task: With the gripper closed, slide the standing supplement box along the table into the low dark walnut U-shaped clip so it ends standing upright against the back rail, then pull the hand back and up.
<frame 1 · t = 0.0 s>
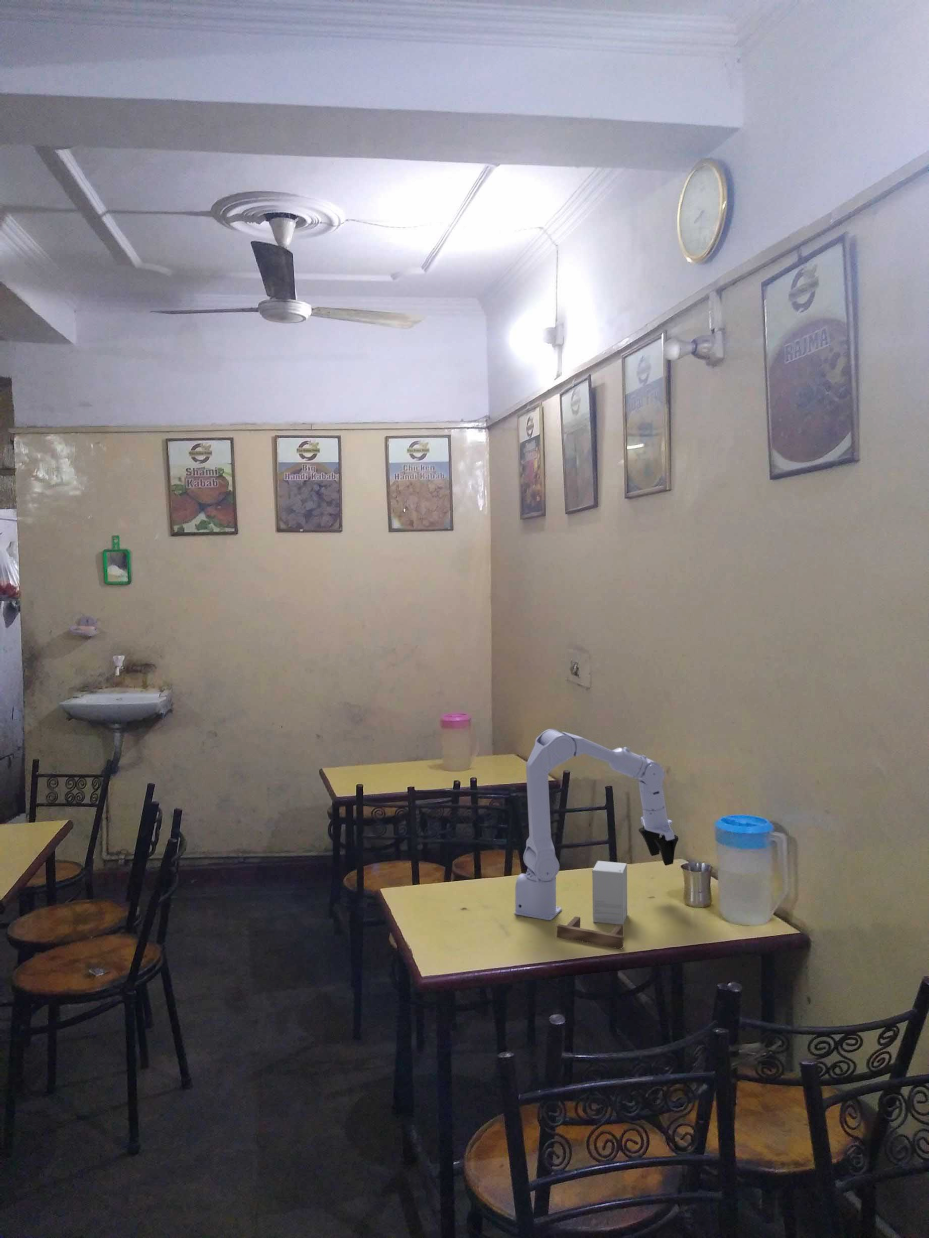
hand: (661, 859, 223), 11 cm above the table, tool pointing down, fingers open, 7 cm apart
supplement box: (610, 919, 213), on the table
walnut clip: (596, 933, 204), on the table
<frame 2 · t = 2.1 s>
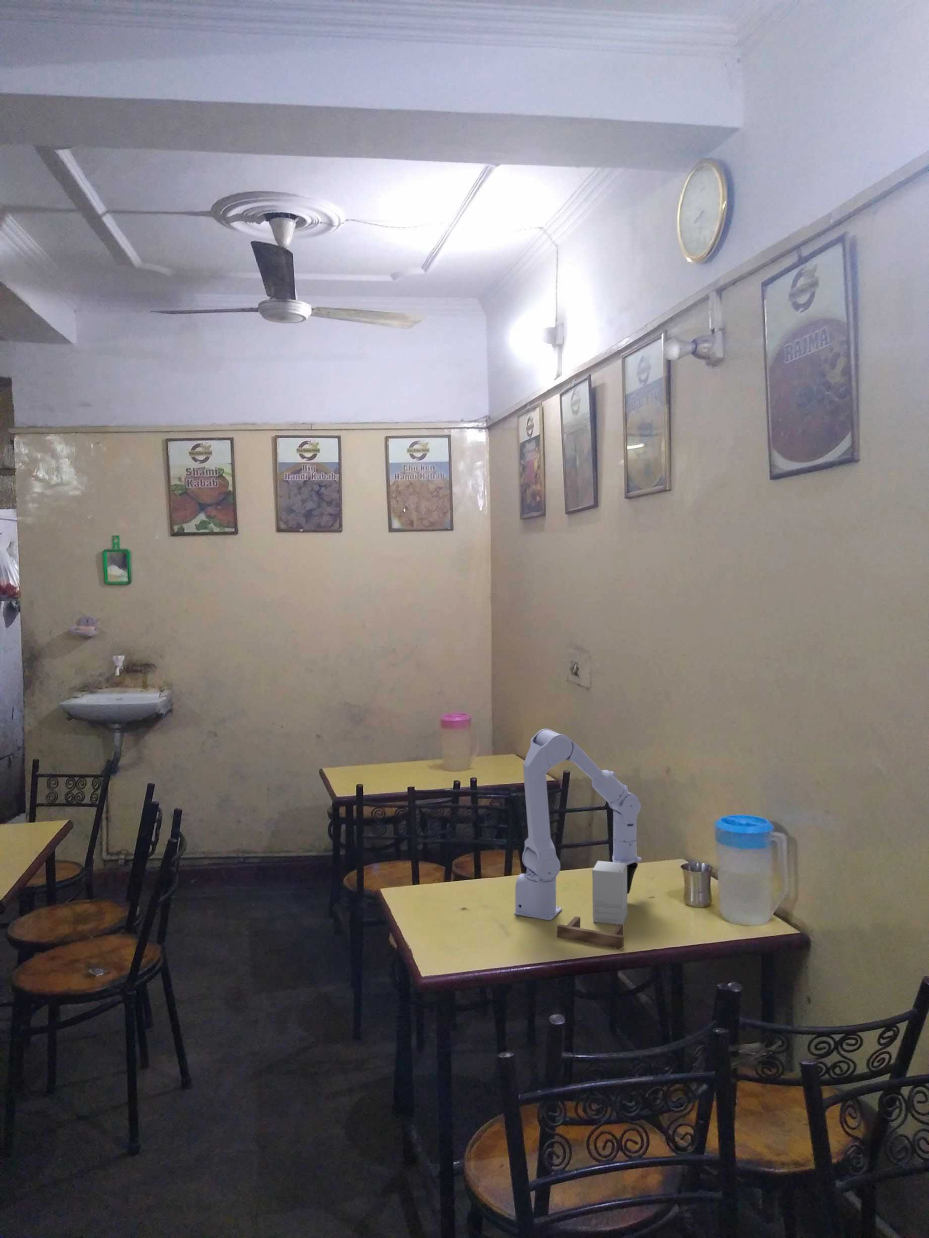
hand: (624, 892, 223), 2 cm above the table, tool pointing down, fingers closed
nothing on the table moved.
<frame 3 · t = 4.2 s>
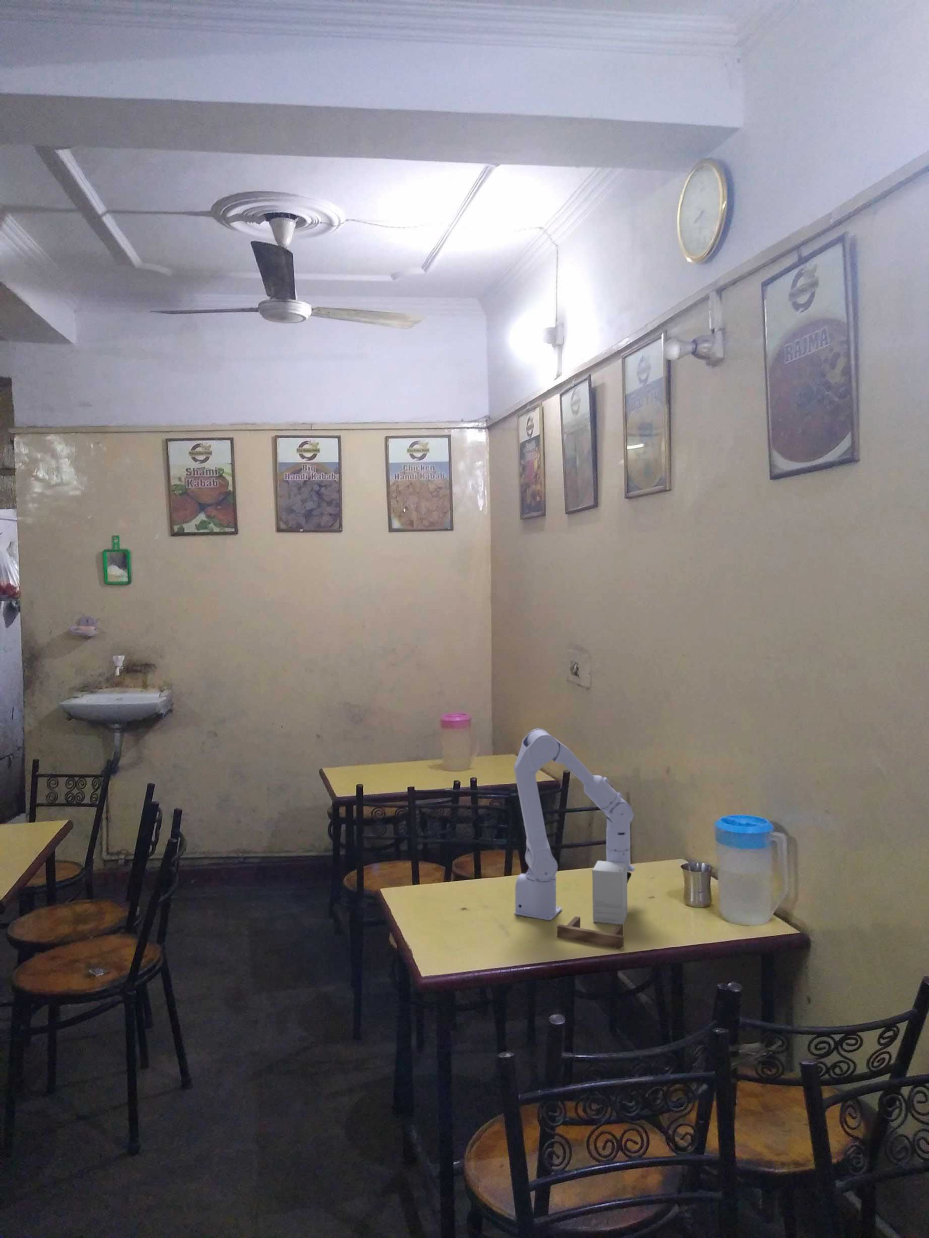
hand: (618, 902, 218), 2 cm above the table, tool pointing down, fingers closed
supplement box: (610, 919, 213), on the table, touching gripper
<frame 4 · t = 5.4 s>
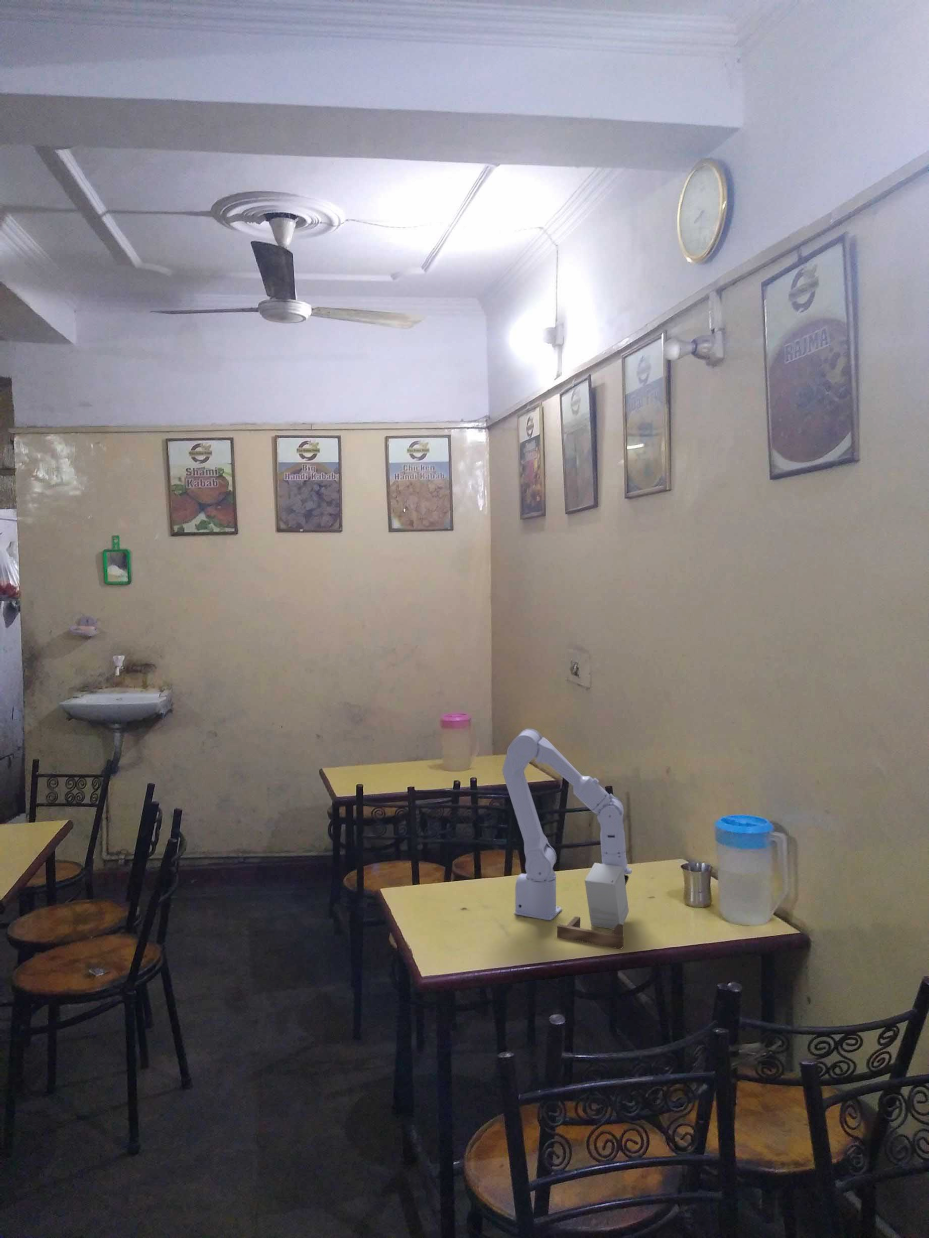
hand: (617, 906, 212), 3 cm above the table, tool pointing down, fingers closed, pressing on supplement box
supplement box: (609, 919, 210), point 1 cm above the table, touching gripper
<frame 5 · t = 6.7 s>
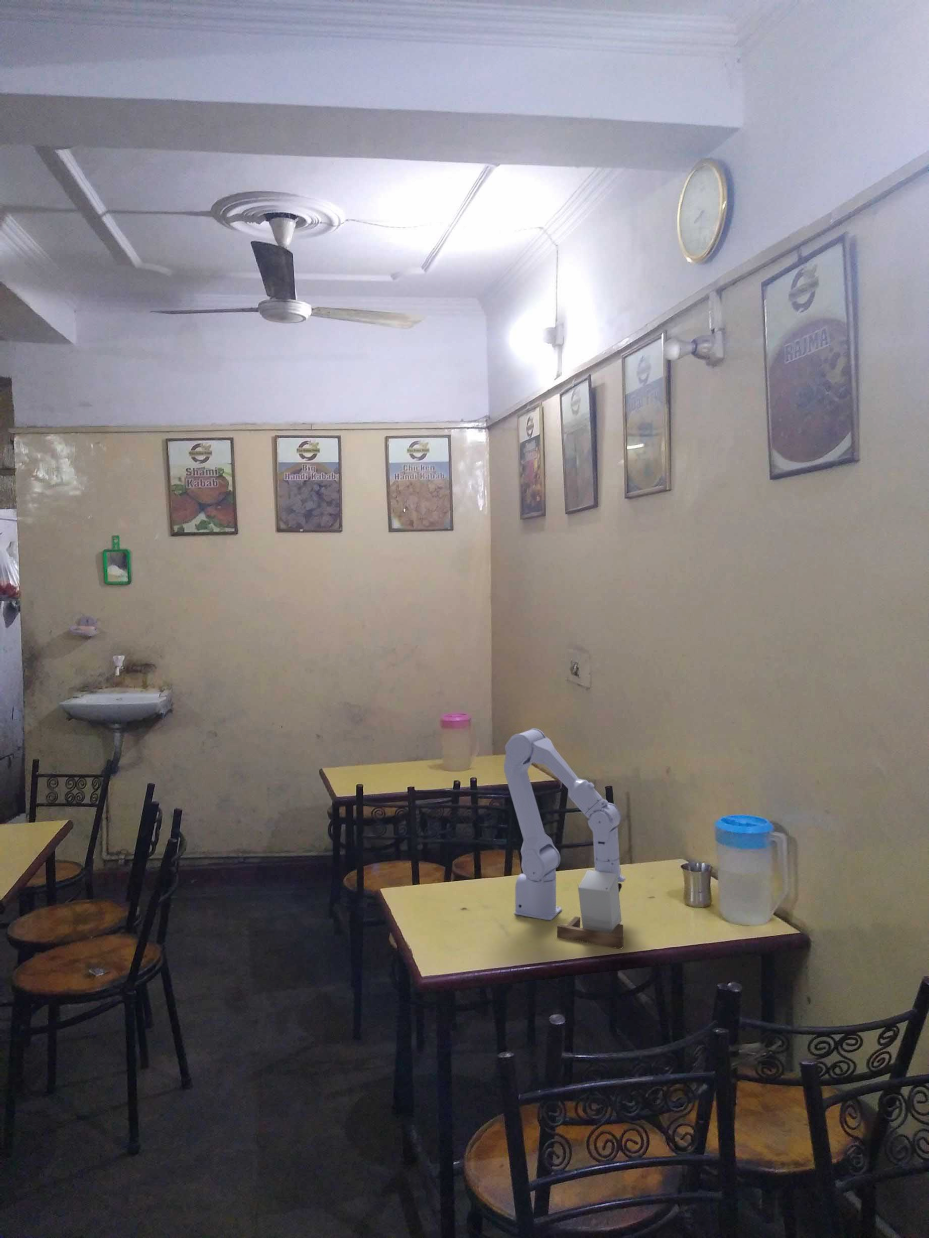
hand: (609, 915, 207), 3 cm above the table, tool pointing down, fingers closed, pressing on supplement box
supplement box: (602, 928, 205), point 1 cm above the table, touching gripper
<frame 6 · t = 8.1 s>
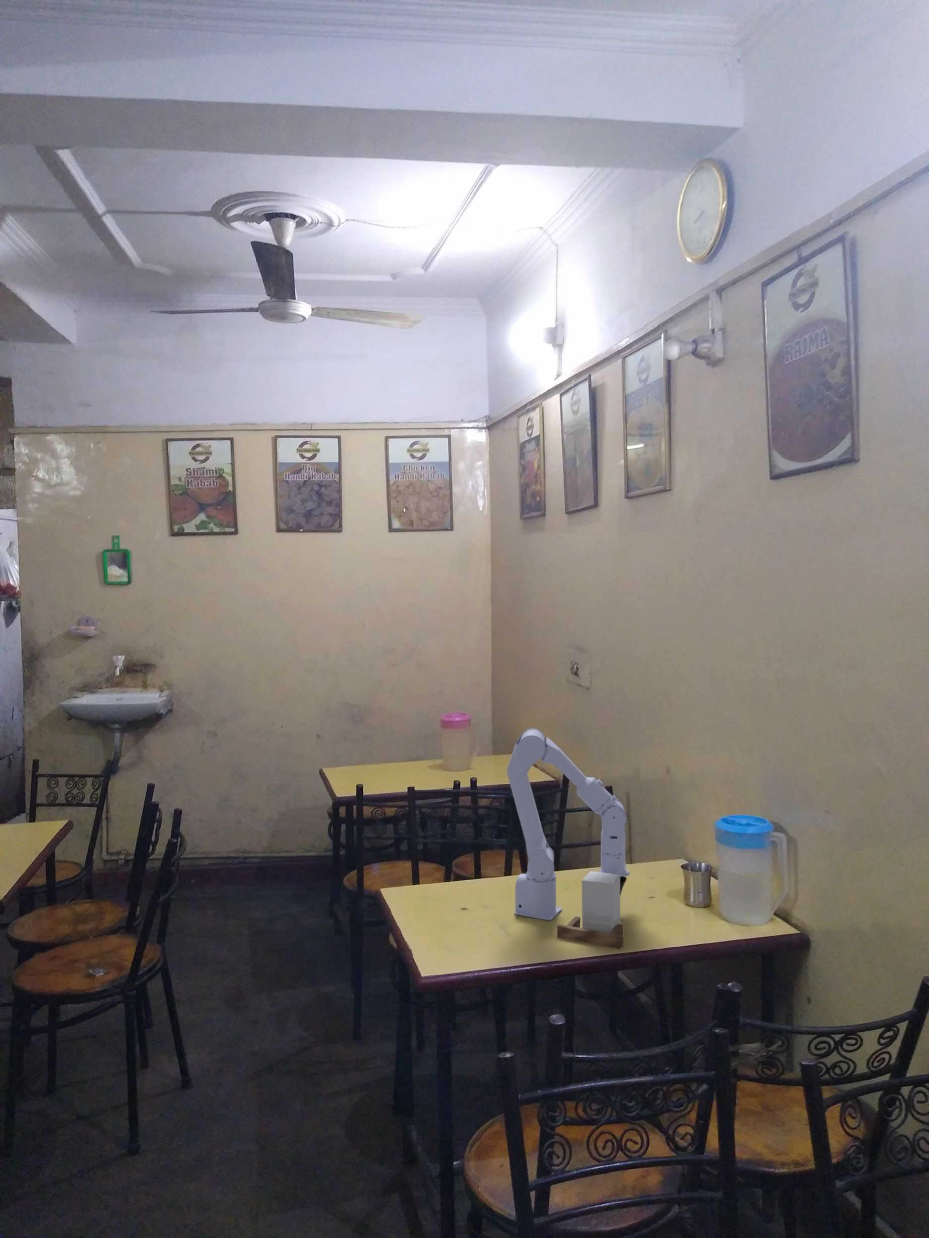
hand: (612, 907, 214), 2 cm above the table, tool pointing down, fingers closed
supplement box: (601, 932, 205), on the table
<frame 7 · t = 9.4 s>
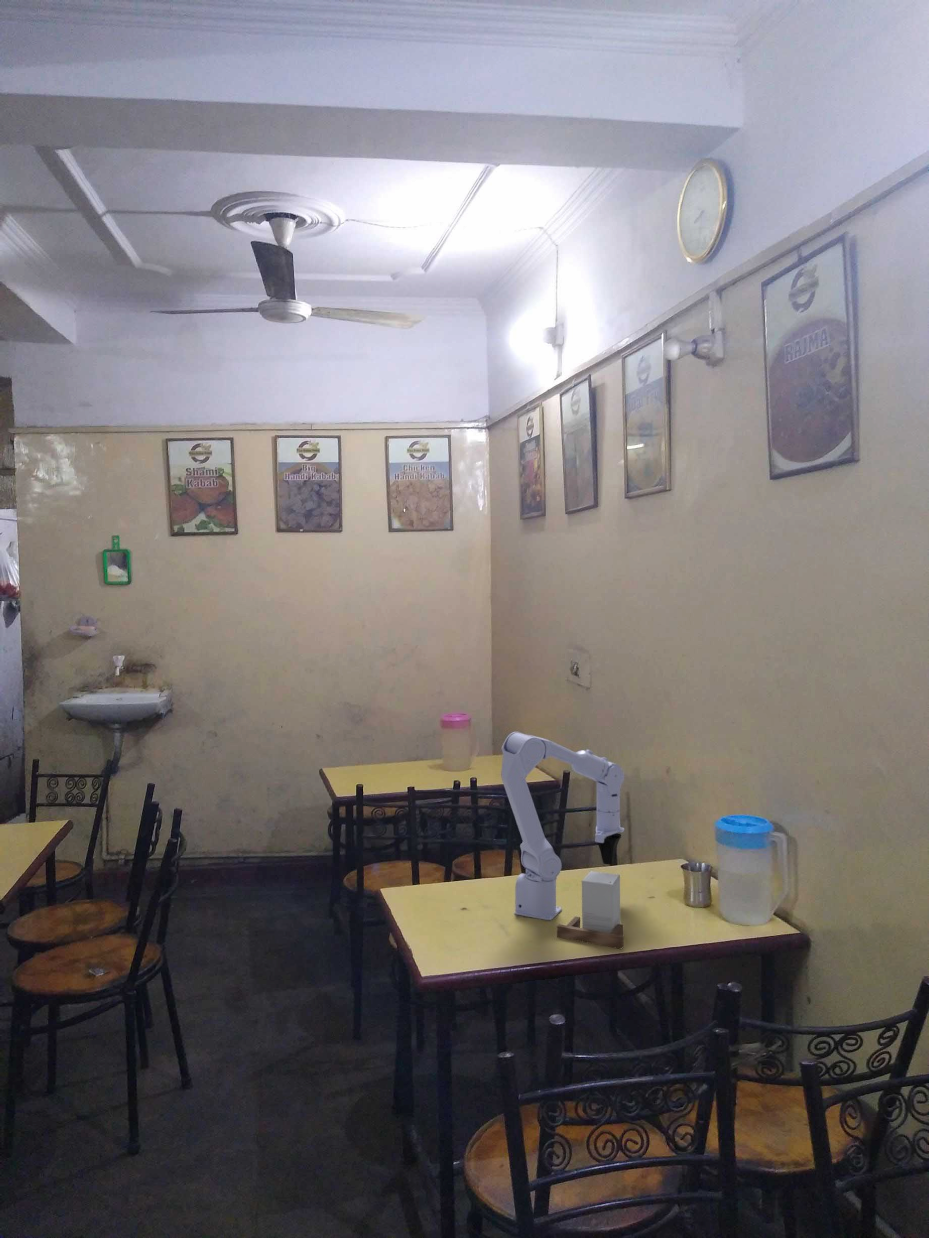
hand: (607, 863, 224), 9 cm above the table, tool pointing down, fingers closed
nothing on the table moved.
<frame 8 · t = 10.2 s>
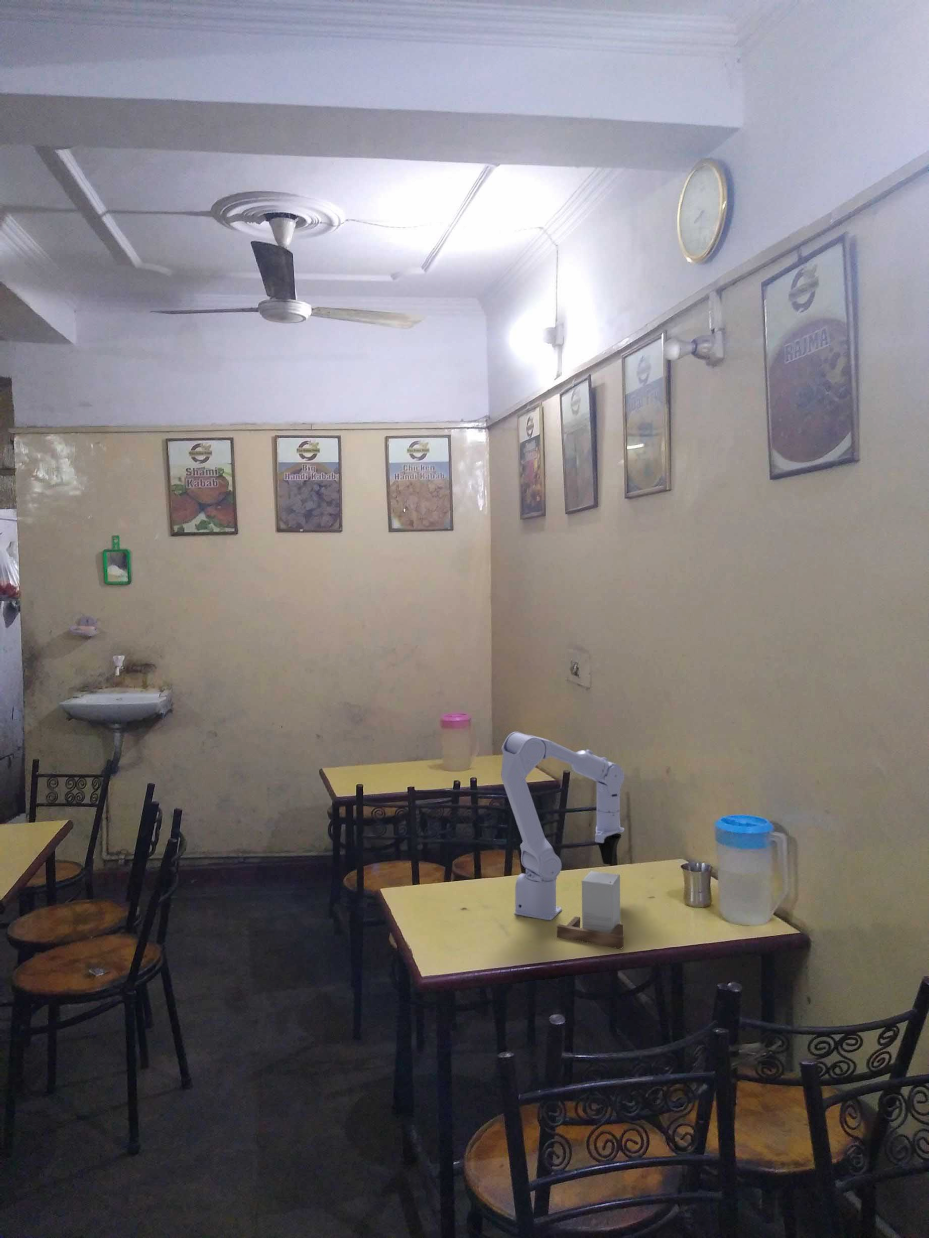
hand: (607, 863, 224), 9 cm above the table, tool pointing down, fingers closed
nothing on the table moved.
at the end: supplement box inside the target area on the walnut clip (2.6 cm from its centre), point 0.0 cm above the walnut clip's base; supplement box tilted 0°; the gripper is holding nothing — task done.
